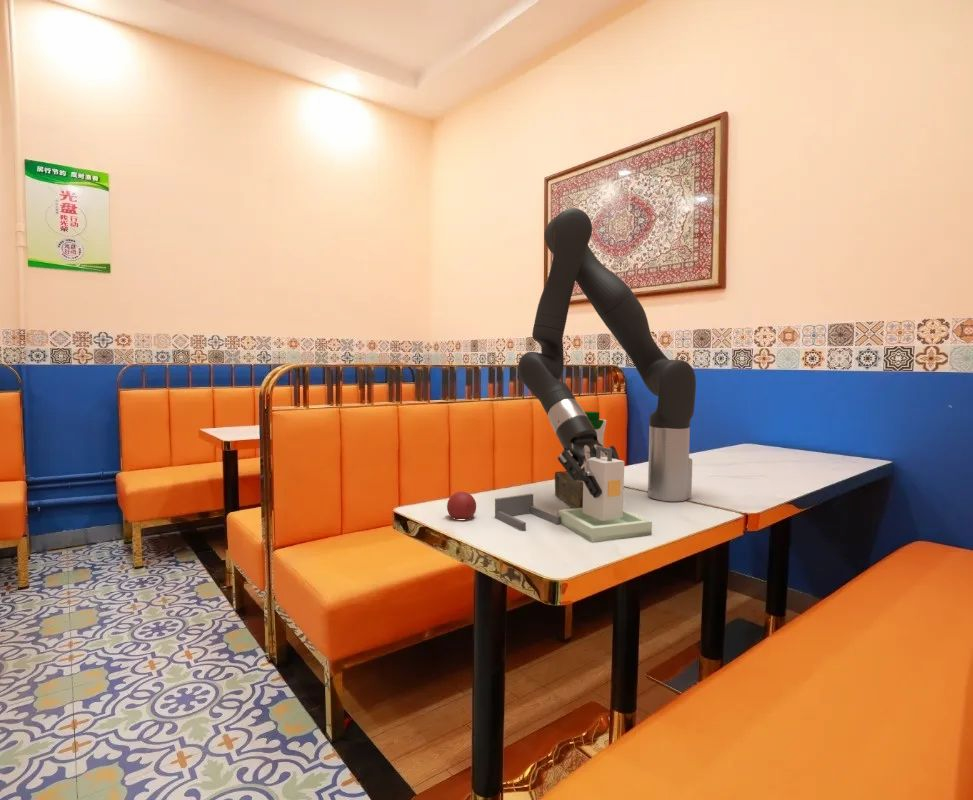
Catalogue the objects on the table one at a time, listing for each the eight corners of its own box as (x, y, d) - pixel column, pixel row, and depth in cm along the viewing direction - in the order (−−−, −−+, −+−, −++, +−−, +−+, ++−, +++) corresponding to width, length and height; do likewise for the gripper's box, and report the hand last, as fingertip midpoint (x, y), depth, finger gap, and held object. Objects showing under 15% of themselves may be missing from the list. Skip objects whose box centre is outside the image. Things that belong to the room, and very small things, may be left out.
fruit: (451, 531, 110) (459, 502, 106) (441, 511, 114) (449, 483, 110) (478, 526, 112) (487, 498, 108) (467, 507, 117) (476, 480, 113)
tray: (613, 516, 113) (613, 504, 113) (651, 534, 101) (651, 521, 101) (558, 522, 109) (558, 510, 109) (591, 542, 97) (591, 528, 97)
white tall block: (601, 509, 109) (603, 444, 108) (623, 517, 103) (625, 448, 102) (582, 512, 106) (584, 446, 105) (603, 521, 101) (605, 450, 100)
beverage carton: (584, 517, 113) (584, 486, 113) (553, 495, 132) (553, 469, 132) (618, 514, 115) (619, 484, 115) (583, 494, 134) (583, 468, 133)
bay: (531, 511, 117) (531, 493, 116) (560, 523, 108) (560, 504, 107) (494, 517, 112) (495, 498, 112) (522, 530, 103) (522, 510, 103)
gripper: (552, 415, 106) (590, 487, 97) (606, 412, 114) (647, 479, 104) (536, 438, 111) (571, 508, 102) (589, 434, 119) (626, 500, 109)
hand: (609, 493), depth 103 cm, fingers closed on white tall block, 5 cm apart
